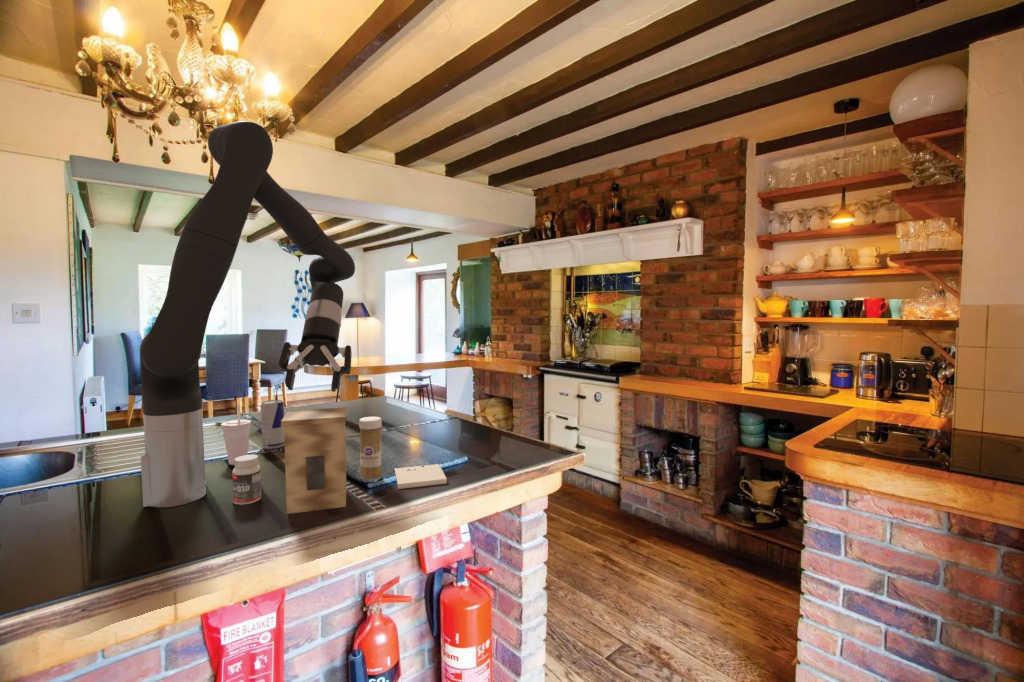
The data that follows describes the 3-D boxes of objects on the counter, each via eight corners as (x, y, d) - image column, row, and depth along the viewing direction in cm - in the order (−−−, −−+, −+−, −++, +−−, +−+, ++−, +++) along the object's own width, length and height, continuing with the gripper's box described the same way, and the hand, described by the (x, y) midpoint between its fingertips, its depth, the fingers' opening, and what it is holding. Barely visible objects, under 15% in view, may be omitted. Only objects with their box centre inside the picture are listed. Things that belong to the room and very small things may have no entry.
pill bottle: (227, 504, 90) (225, 460, 90) (244, 494, 95) (243, 453, 94) (250, 506, 90) (248, 462, 89) (266, 496, 94) (265, 454, 94)
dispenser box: (284, 515, 86) (280, 421, 84) (290, 496, 94) (287, 410, 93) (348, 507, 89) (345, 416, 88) (348, 490, 97) (346, 407, 96)
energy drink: (289, 445, 129) (287, 401, 128) (270, 450, 124) (268, 404, 123) (277, 442, 132) (275, 399, 131) (258, 447, 127) (256, 402, 126)
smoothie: (251, 464, 113) (249, 405, 112) (219, 468, 111) (217, 408, 110) (254, 456, 119) (252, 401, 118) (224, 459, 117) (222, 402, 116)
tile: (398, 488, 98) (398, 484, 98) (394, 472, 108) (394, 468, 107) (446, 483, 101) (446, 478, 101) (439, 468, 111) (438, 464, 111)
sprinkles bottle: (360, 484, 100) (359, 421, 99) (360, 477, 105) (359, 416, 104) (383, 482, 102) (381, 419, 101) (382, 475, 106) (381, 415, 105)
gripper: (285, 312, 104) (271, 379, 96) (354, 317, 107) (346, 382, 99) (291, 331, 110) (278, 395, 102) (356, 335, 113) (348, 398, 105)
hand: (311, 389), depth 100 cm, fingers open, 8 cm apart
